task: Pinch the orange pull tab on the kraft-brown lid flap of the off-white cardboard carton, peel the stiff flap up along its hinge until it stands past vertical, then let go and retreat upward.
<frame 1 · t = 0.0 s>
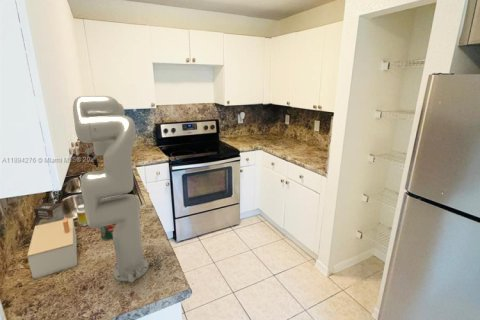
hand: (108, 165, 129), 31 cm above the worktop, fingers open, 9 cm apart
coffee box: (54, 236, 123), on the worktop
supplement bottle: (85, 224, 134), on the worktop
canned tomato: (110, 236, 124), on the worktop
carton: (57, 255, 109), on the worktop
lid flap: (51, 229, 106), point 12 cm above the worktop, hinge at 0.0°
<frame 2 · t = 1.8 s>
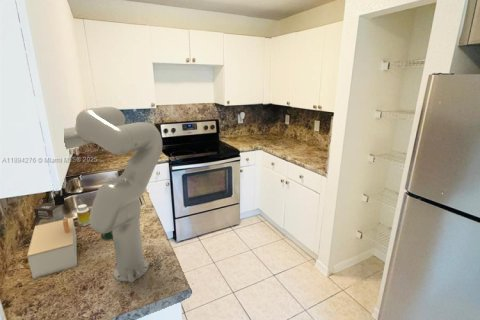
hand: (60, 200, 105), 24 cm above the worktop, fingers open, 9 cm apart
nothing on the worktop moved.
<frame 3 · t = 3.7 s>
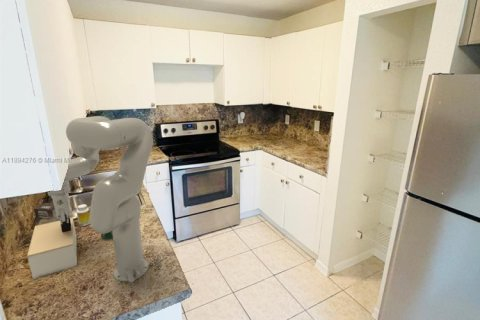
hand: (66, 228, 109), 11 cm above the worktop, fingers closed on lid flap, 3 cm apart
lid flap: (51, 229, 106), point 12 cm above the worktop, hinge at 0.0°, touching gripper
everything else where it was.
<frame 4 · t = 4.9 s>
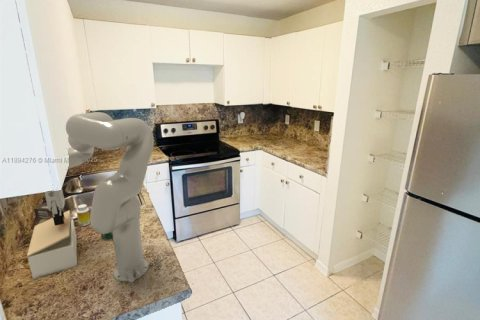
hand: (59, 221, 107), 15 cm above the worktop, fingers closed on lid flap, 3 cm apart
lid flap: (47, 226, 105), point 14 cm above the worktop, hinge at 17.3°, touching gripper
everything else where it was.
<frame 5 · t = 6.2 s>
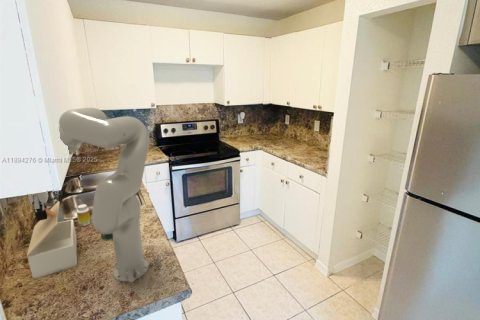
hand: (43, 217, 103), 19 cm above the worktop, fingers closed on lid flap, 3 cm apart
lid flap: (38, 223, 103), point 17 cm above the worktop, hinge at 43.7°, touching gripper
everything else where it was.
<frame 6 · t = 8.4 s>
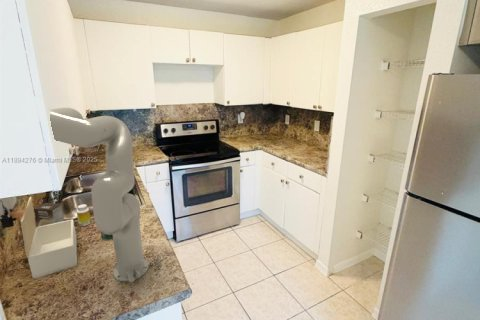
hand: (9, 223, 98), 19 cm above the worktop, fingers open, 4 cm apart
lid flap: (20, 225, 100), point 17 cm above the worktop, hinge at 86.6°
everything else where it was.
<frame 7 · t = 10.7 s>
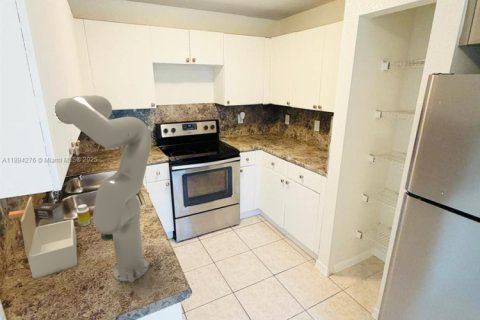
hand: (30, 184, 97), 34 cm above the worktop, fingers open, 9 cm apart
nothing on the worktop moved.
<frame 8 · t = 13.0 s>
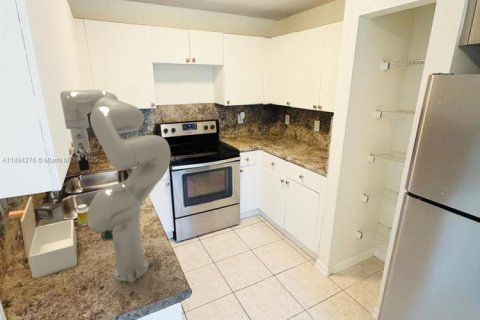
hand: (84, 166, 103), 38 cm above the worktop, fingers open, 9 cm apart
nothing on the worktop moved.
at the end: lid flap at +87° (first picture: +0°); the gripper is holding nothing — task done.
